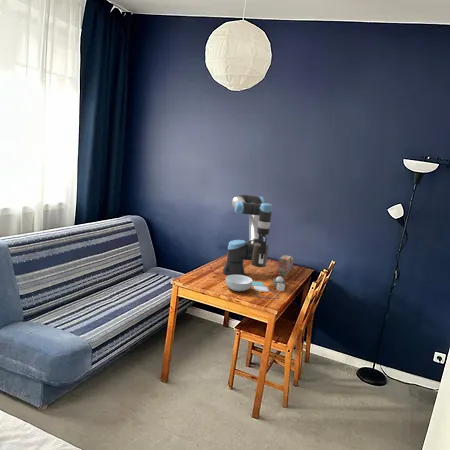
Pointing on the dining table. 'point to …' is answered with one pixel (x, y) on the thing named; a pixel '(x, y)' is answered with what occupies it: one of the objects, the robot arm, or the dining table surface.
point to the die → (280, 286)
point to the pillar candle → (256, 255)
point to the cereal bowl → (238, 282)
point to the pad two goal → (257, 283)
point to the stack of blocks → (285, 265)
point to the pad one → (261, 288)
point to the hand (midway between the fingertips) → (259, 261)
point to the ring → (267, 297)
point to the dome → (279, 279)
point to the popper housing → (279, 282)
